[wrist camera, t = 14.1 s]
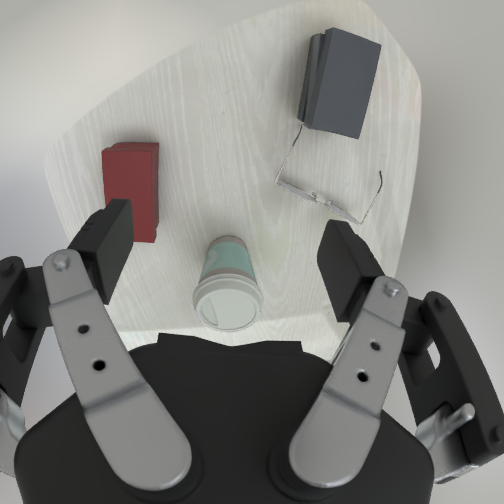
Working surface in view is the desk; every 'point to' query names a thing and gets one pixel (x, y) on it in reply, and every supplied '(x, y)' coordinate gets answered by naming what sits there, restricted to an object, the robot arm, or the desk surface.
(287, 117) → the desk surface
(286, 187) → the eyeglasses
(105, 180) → the thin oxblood book
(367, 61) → the grey books
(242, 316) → the coffee cup
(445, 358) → the robot arm
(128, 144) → the oxblood books
